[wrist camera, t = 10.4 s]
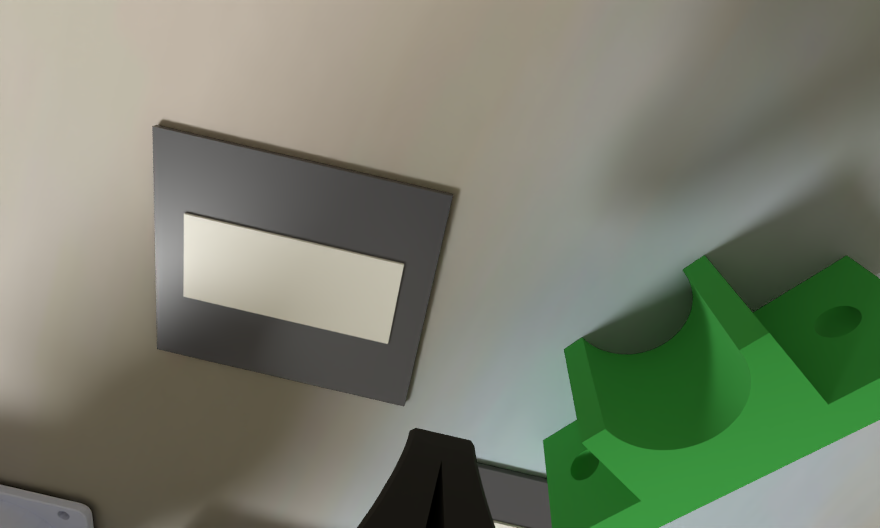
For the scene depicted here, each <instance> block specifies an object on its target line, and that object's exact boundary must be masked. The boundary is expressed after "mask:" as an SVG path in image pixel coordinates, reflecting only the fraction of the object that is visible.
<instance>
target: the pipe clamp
mask: <svg viewBox="0 0 880 528" xmlns="http://www.w3.org/2000/svg"><path fill="white" fill-rule="evenodd" d="M683 271H684V273H685V274H686V276H687V278H688V279H689V282H690V284H691V288H692V295H693V302H692V308H691V312H690V314H689V317H688V319H687V321H686V323H685V324H684V326H683V327H682V328H681V330H680V331H679V332H678V333H677V334H676V335H675V336H674V337H673V338H672V339H670V340H669V341H668V342H666V343H664V344H663V345H661V346H659V347H657V348H655V349H652V350H650V351H646V352H642V353H638V354H615V353H610V352H606V351H603V350H600V349H598V348H596V347H594V346H593V345H591V344H590V343H588V342H587V341H586V340H585V339H584V338H583V337H582V338H580V339H579V340H577V341H576V342H574V343H573V344H571V345H570V346H568V347H567V348H565V349H564V353H565V358H566V363H567V368H568V374H569V379H570V384H571V390H572V395H573V400H574V405H575V411H576V416H577V420H576V421H574V422H573V423H571V424H569V425H568V426H566V427H564V428H563V429H561V430H559V431H558V432H556V433H555V434H553V435H551V436H550V437H548V438H546V439H545V440H543V444H544V454H545V464H546V474H547V483H548V493H549V503H550V513H551V523H552V528H659V527H661V526H663V525H665V524H667V523H669V522H671V521H673V520H675V519H677V518H679V517H681V516H684V515H686V514H688V513H690V512H692V511H694V510H696V509H698V508H700V507H702V506H704V505H706V504H708V503H710V502H712V501H714V500H716V499H718V498H720V497H722V496H725V495H727V494H729V493H731V492H733V491H735V490H737V489H739V488H741V487H743V486H745V485H747V484H749V483H751V482H753V481H755V480H757V479H759V478H761V477H763V476H765V475H768V474H770V473H772V472H774V471H776V470H778V469H780V468H782V467H784V466H786V465H788V464H790V463H792V462H794V461H796V460H798V459H800V458H802V457H804V456H806V455H809V454H811V453H813V452H815V451H817V450H819V449H821V448H823V447H825V446H827V445H829V444H831V443H833V442H835V441H837V440H839V439H841V438H843V437H845V436H847V435H849V434H852V433H854V432H856V431H858V430H860V429H862V428H864V427H866V426H868V425H870V424H872V423H874V422H876V421H878V420H880V279H879V278H878V277H877V276H875V275H874V274H872V273H871V272H869V271H868V270H867V269H865V268H864V267H862V266H861V265H860V264H858V263H857V262H855V261H854V260H852V259H851V258H850V257H848V256H845V257H843V258H842V259H840V260H838V261H837V262H835V263H834V264H832V265H830V266H829V267H827V268H825V269H824V270H822V271H820V272H819V273H817V274H816V275H814V276H812V277H811V278H809V279H807V280H806V281H804V282H802V283H801V284H799V285H797V286H796V287H794V288H793V289H791V290H789V291H788V292H786V293H784V294H783V295H781V296H779V297H778V298H776V299H774V300H773V301H771V302H770V303H768V304H766V305H765V306H763V307H761V308H760V309H758V310H756V311H755V312H753V313H752V311H751V310H750V309H749V308H748V307H747V305H746V304H745V303H744V302H743V301H742V299H741V298H740V297H739V296H738V295H737V293H736V292H735V291H734V290H733V289H732V288H731V286H730V285H729V284H728V283H727V282H726V280H725V279H724V278H723V277H722V276H721V274H720V273H719V272H718V271H717V270H716V268H715V267H714V266H713V265H712V264H711V262H710V261H709V260H708V259H707V258H706V256H705V255H704V256H702V257H701V258H699V259H698V260H696V261H695V262H693V263H692V264H690V265H689V266H687V267H686V268H684V269H683Z"/></svg>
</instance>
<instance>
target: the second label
mask: <svg viewBox="0 0 880 528" xmlns="http://www.w3.org/2000/svg"><path fill="white" fill-rule="evenodd" d="M152 127H153V174H154V221H155V269H156V316H157V349H159V350H164V351H168V352H172V353H176V354H181V355H185V356H189V357H194V358H198V359H202V360H207V361H211V362H215V363H220V364H224V365H228V366H232V367H237V368H241V369H245V370H250V371H254V372H258V373H263V374H267V375H271V376H275V377H280V378H284V379H288V380H293V381H297V382H301V383H306V384H310V385H314V386H319V387H323V388H327V389H331V390H336V391H340V392H344V393H349V394H353V395H357V396H362V397H366V398H370V399H375V400H379V401H383V402H387V403H392V404H396V405H400V406H404V405H405V401H406V397H407V392H408V388H409V384H410V379H411V375H412V371H413V366H414V362H415V358H416V353H417V349H418V345H419V340H420V336H421V332H422V327H423V323H424V319H425V314H426V310H427V306H428V301H429V297H430V293H431V288H432V284H433V280H434V275H435V271H436V267H437V262H438V258H439V254H440V249H441V245H442V241H443V236H444V232H445V228H446V223H447V219H448V215H449V210H450V206H451V202H452V197H453V194H451V193H446V192H442V191H438V190H433V189H429V188H425V187H421V186H416V185H412V184H408V183H403V182H399V181H395V180H391V179H386V178H382V177H378V176H373V175H369V174H365V173H360V172H356V171H352V170H348V169H343V168H339V167H335V166H330V165H326V164H322V163H318V162H313V161H309V160H305V159H300V158H296V157H292V156H287V155H283V154H279V153H275V152H270V151H266V150H262V149H257V148H253V147H249V146H244V145H240V144H236V143H232V142H227V141H223V140H219V139H214V138H210V137H206V136H202V135H197V134H193V133H189V132H184V131H180V130H176V129H171V128H167V127H163V126H159V125H155V126H152Z"/></svg>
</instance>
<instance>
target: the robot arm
mask: <svg viewBox="0 0 880 528" xmlns="http://www.w3.org/2000/svg"><path fill="white" fill-rule="evenodd" d="M0 528H93V518H92V512H91V510H90V508H89V507H88V506H86V505H84V504H82V503H78V502H74V501H69V500H65V499H61V498H56V497H52V496H48V495H44V494H39V493H35V492H31V491H26V490H22V489H18V488H13V487H9V486H5V485H0ZM357 528H495V525H494V522H493V518H492V515H491V512H490V509H489V506H488V503H487V499H486V496H485V492H484V489H483V485H482V481H481V477H480V473H479V469H478V464H477V459H476V454H475V448H474V445H473V443H472V442H471V440H466V439H462V438H457V437H453V436H449V435H444V434H440V433H436V432H431V431H427V430H423V429H418V428H415V429H413V430H410V432H409V436H408V439H407V442H406V445H405V447H404V450H403V452H402V455H401V457H400V459H399V461H398V463H397V465H396V467H395V469H394V470H393V472H392V474H391V476H390V478H389V479H388V481H387V483H386V484H385V486H384V488H383V489H382V491H381V493H380V494H379V496H378V498H377V499H376V501H375V503H374V504H373V506H372V507H371V509H370V510H369V511H368V513H367V514H366V516H365V517H364V519H363V520H362V521H361V523H360V524H359V526H358V527H357Z"/></svg>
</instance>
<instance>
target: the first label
mask: <svg viewBox="0 0 880 528" xmlns="http://www.w3.org/2000/svg"><path fill="white" fill-rule="evenodd" d="M477 464H478V469H479V473H480V477H481V481H482V485H483V489H484V492H485V496H486V499H487V503H488V506H489V509H490V512H491V515H492V518H493V522H494V525H495V528H552V523H551V513H550V503H549V493H548V483H547V479H544V478H540V477H536V476H531V475H527V474H523V473H519V472H514V471H510V470H506V469H501V468H497V467H493V466H488V465H484V464H480V463H477Z"/></svg>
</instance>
